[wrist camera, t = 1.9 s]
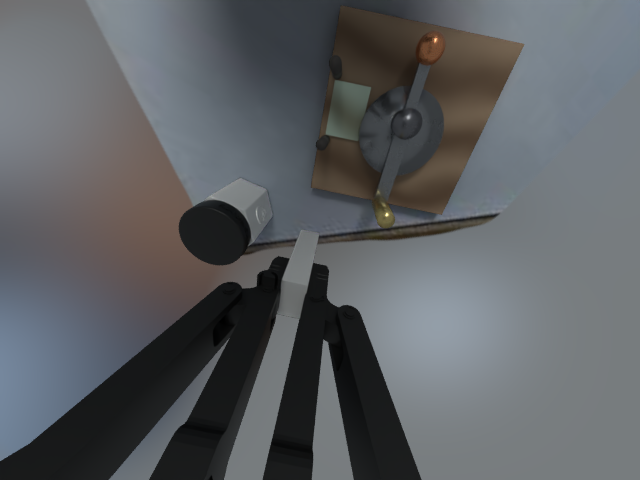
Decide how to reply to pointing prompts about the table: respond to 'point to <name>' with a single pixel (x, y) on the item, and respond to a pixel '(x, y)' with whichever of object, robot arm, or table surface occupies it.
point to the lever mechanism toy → (398, 70)
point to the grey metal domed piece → (403, 127)
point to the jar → (226, 222)
